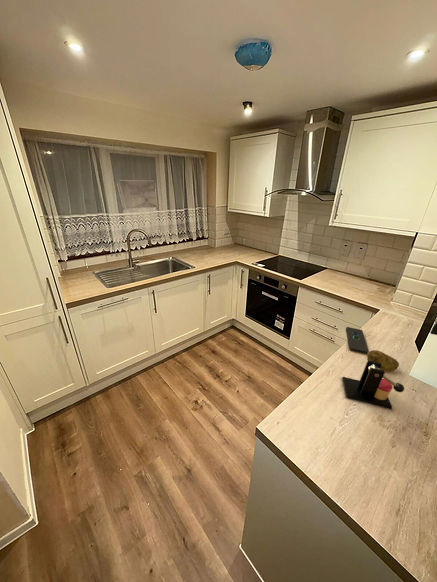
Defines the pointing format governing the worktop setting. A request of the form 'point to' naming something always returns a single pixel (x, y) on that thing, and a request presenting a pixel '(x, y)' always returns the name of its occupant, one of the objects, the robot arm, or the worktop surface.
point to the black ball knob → (390, 381)
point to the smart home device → (356, 340)
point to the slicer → (366, 386)
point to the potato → (383, 360)
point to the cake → (383, 390)
